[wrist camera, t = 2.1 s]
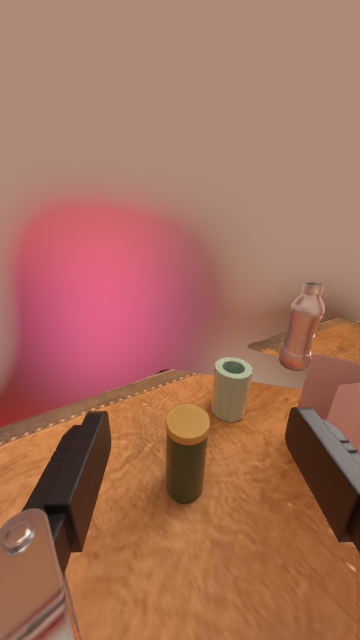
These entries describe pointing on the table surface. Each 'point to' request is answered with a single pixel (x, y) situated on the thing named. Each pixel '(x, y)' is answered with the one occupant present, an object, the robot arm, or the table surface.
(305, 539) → the table surface
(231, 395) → the vase
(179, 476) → the tea tin
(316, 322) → the plastic bottle
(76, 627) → the robot arm
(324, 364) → the greeting card
